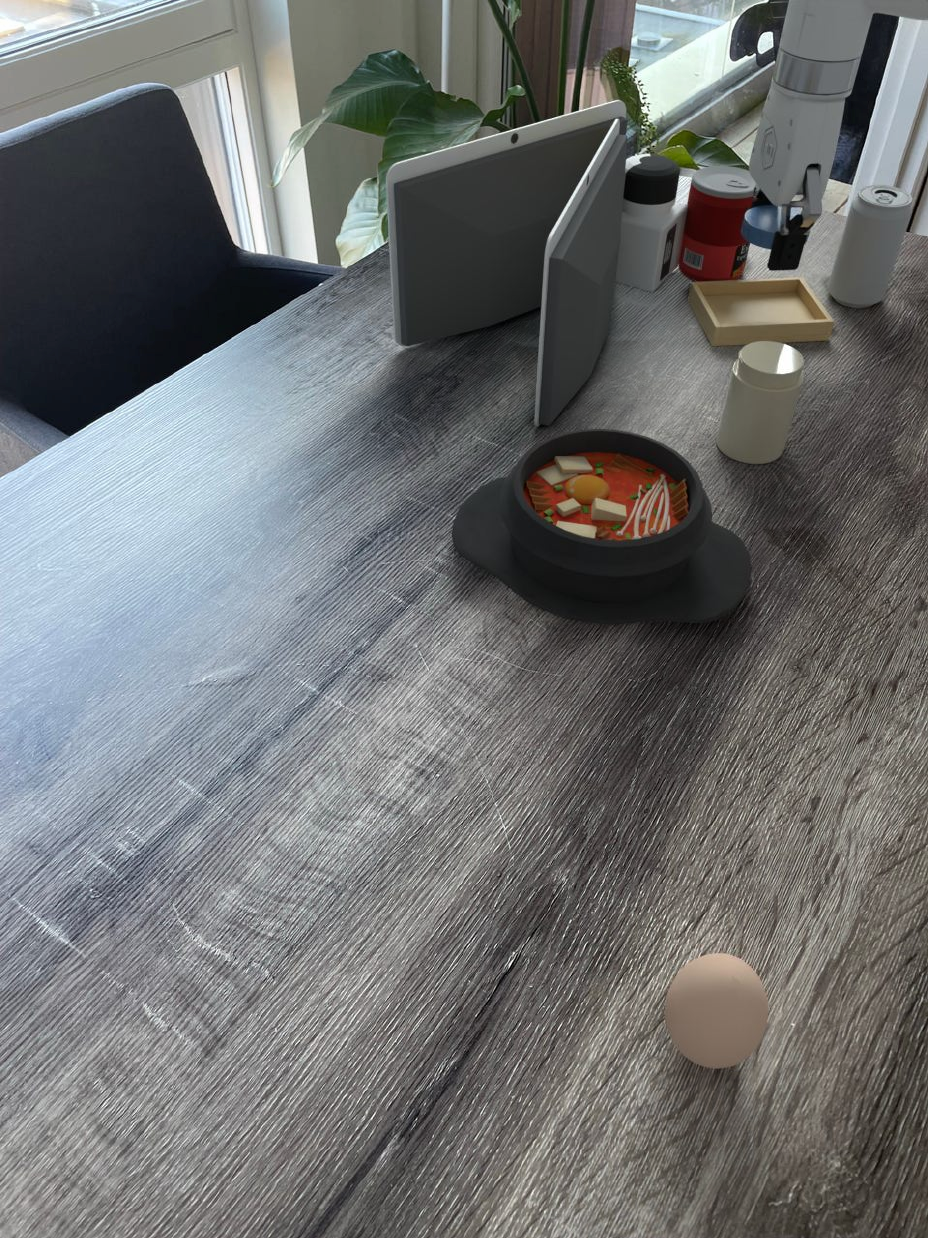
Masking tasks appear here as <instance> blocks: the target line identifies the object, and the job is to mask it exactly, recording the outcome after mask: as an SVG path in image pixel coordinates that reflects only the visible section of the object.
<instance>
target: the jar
mask: <svg viewBox="0 0 928 1238" xmlns="http://www.w3.org/2000/svg"><path fill="white" fill-rule="evenodd" d="M737 355H738V359H736V360H735V361H734V363H733V364H732V367H731V372H730V375H729V381H728V385H727V389H726V392H725V393H726V394H725V398H724V402H723V406H722V412H721V415H720V420H719V424H718V429H717V433H716V438H715V442H716V446H717V447H718V449H719V450H720V452H721V453H723V455H725V456H726V457H728V458H730V459H732V460H734V461H736V462H739V463H743V464H748V465H763V464H770V463H772V462H774V461H776V460H778V459H779V458H780V457H781V456H782V455H783V453H784V450H785V446H786V443H787V441H788V436H789V434H790V429H791V427H792V421H793V419H794V417H795V412H796V408H797V405H798V402H799V399H800V395H801V392H802V388H803V385H804V381H805V374H804V373H805V372H804V368H805V367H804V364H805V359H804V356H803V355H802V353H801V352H800V351H798V350H797V349H796V348H794V347H792V346H790V345H788V344H786V343H779V342H773V341H758V342H753V343H750V344H747V345H743V347H742V348H741V349H740V350H739V352H738V354H737Z"/></svg>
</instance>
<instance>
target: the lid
mask: <svg viewBox="0 0 928 1238" xmlns="http://www.w3.org/2000/svg"><path fill="white" fill-rule="evenodd" d="M781 207H782V206H775V205H763V206H757V207H754V208H751V209H749V210H748V211H747V212H746V213H745V216H744V221H743V223H742V228H741V233H742V236H743V238H744V239H745V240H746V241H748V242H749V243H750V245H753V246H756V247H759V248H762V249H766V250H770V251H771V248H772V244H773V240H774V236H775V232H776V231H780V222H781ZM801 211H802V210H798V209H797V208H791V216H790V220H791V219H792V218H793V217H794V216H796V215H797V214H801ZM809 237H810V234H809V235H807V237H806V241H805V244H804V246H805V245H806V244H807V242H808V239H809Z"/></svg>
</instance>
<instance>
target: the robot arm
mask: <svg viewBox="0 0 928 1238" xmlns="http://www.w3.org/2000/svg"><path fill="white" fill-rule="evenodd" d="M874 14H881V15H882V14H883V15H889V16H895V17H899V18H904V19H909V20H915V21H928V0H788V3H787V9H786V13H785V17H784V22H783V25H782V26H783V27H782V31H781V37H780V41H779V45H778V50H777V54H776V59H775V63H774V68H773V72H772V77H771V81H770V87H769V90H768V93H767V96H766V99H765V102H764V105H763V108H762V111H761V115H760V119H759V123H758V127H757V130H756V134H755V138H754V142H753V146H752V150H751V152H750V153H751V154H750V159H749V162H748V171H749V172H750V175H751V176H752V178H753V179H754V181H755V182H756V185H755V187H754V189H753V198H757V199H756V200H752V204H751V208H754V207H757V206H763V205H775V206H782V207H781V222H780V231H776V232H775V236H774V240H773V244H772V248H771V250H770V253H769V257H768V260H767V265H766V267H767V269H768V270H769V271H771V272H775V271H776V272H778V271H795V270H797V269H798V268H799V266H800V264H801V263H800V262H801V258H802V255H803V251H804V247H805V245H806V244H805V241H806V237H807V235H809V236H810V234H811V230H812V228H813V227H814V225H815V223H816V221H818V220H819V218H820V217H821V216H822V213H823V203H822V200H823V198H824V196H825V193H826V189H827V187H828V183H829V179H830V176H831V173H832V169H833V163H834V160H835V156H836V151H837V147H838V142H839V137H840V133H841V127H842V123H843V116H844V111H845V110H844V109H845V103H846V98H848V97H850V95H851V94H852V92H853V88H854V84H855V82H856V81H855V80H856V77H857V74H858V70H859V66H860V63H861V59H862V55H863V51H864V48H865V45H866V41H867V37H868V34H869V29H870V26H871V23H872V19H873V15H874ZM796 196H803V200H793V199H794V198H795V197H796ZM791 208H793V209H797V208H798V209H801V208H802V209H801V210H800V211H801V214H797V215H796V216H794V217H793V218H792V219H791V220H790V216H791ZM804 244H805V245H804Z"/></svg>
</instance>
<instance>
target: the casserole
mask: <svg viewBox="0 0 928 1238" xmlns="http://www.w3.org/2000/svg"><path fill="white" fill-rule="evenodd" d="M703 487H704V486H703V482H702V479H701V478H700V476H699V473H698V471H697V470H696V469H695V468H694V467H693V465H692V464H691V463H690V462H689V460H687V458H685V457H684V456H683V455H682V454H681V453H680V452H678V451H677V450H675V449H674V448H671V447H670V446H668V445H667V444H665V443H664V442H661V441H658V440H656V439H653V438H651V437H649V436H646V435H642V434H639V433H635V432H631V431H626V430H620V429H614V428H613V429H612V428H586V429H585V428H584V429H583V428H582V429H576V430H570V431H565V432H562V433H559V434H556V435H553V436H550V437H547V438H546V439H544V440H542V441H540V442H537V443H535V444H534V446H532V447H531V448H529V449H528V450H527V451H526V452H525V453H524V454H523V455H522V456H521V458H520V459H519V460H518V461H517V464H516V465H515V466H514V467H513V468H512V469H511V471H510V472H509V473H508V474H507V476H503V477H497V478H496V479H493V480H492V481H489V482H487V483H486V484H483V485H482V486H480V487H479V488H477V489H476V490H475V491H474V492H473V493H472V494H470V495H469V496H468V497H467V498H466V499H465V501H464V502H463V503H462V504H461V505H460V507H459V508H458V510H457V512H456V515H455V516H454V519H453V522H452V529H451V538H452V545H453V548H454V549H455V551H456V552H457V553H458V554H459V556H460V557H461V558H462V559H463V560H465V561H467V562H468V563H470V564H472V565H473V566H474V567H477V568H479V569H481V570H483V571H484V572H486V573H488V574H490V575H492V576H494V577H495V578H496V579H498V581H500V582H501V583H503V585H505V587H507V588H508V589H510V590H511V591H512V592H513V593H514V594H516V595H517V596H518V597H520V598H521V600H523V601H524V602H526V603H528V604H530V605H532V606H534V607H536V608H537V609H540V611H542V612H546V613H547V614H551V615H554V616H556V617H559V618H562V619H564V620H570V621H574V622H579V623H583V624H591V625H605V626H616V625H629V624H630V625H631V624H640V623H641V624H642V623H652V622H653V623H654V622H667V623H669V622H670V623H688V624H689V623H691V624H707V623H710V622H715V621H718V620H721V619H722V618H723V617H725V616H727V615H728V614H730V613H731V612H732V611H733V610H734V609H736V607H737V606H738V605H739V603H740V602H741V601H742V600H743V599H744V597H745V595H746V593H747V591H748V589H749V586H750V585H751V578H752V577H751V576H752V570H753V569H752V561H751V557H750V553H749V550H748V548H747V547H746V546H747V545H746V544H745V542H744V541H743V540H742V539H741V538H740V536H739V535H737V534H736V533H735V532H733V530H731V529H728V528H727V527H725V526H722V525H721V524H718V523H716V522H714V521H713V509H712V504H711V501H710V499H709V497H708V494H707V492H706V490H705V489H704V488H703Z"/></svg>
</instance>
